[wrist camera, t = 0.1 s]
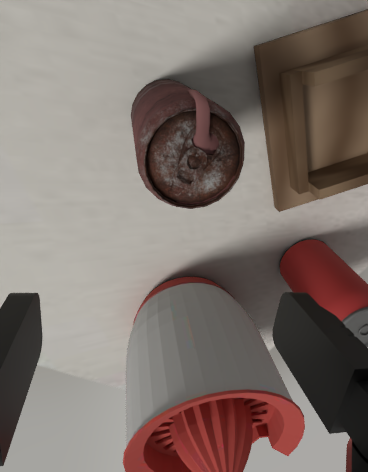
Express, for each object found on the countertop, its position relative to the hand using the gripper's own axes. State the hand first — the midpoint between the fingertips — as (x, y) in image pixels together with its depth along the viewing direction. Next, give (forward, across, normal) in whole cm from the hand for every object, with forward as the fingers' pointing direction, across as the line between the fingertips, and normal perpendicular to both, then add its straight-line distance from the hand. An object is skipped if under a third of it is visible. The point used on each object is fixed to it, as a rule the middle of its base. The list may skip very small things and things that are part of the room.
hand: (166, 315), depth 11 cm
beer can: (+24, -21, +10) cm, 34 cm away
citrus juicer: (+25, -8, +18) cm, 32 cm away
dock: (+22, -19, -7) cm, 30 cm away
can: (+22, -2, -6) cm, 23 cm away
